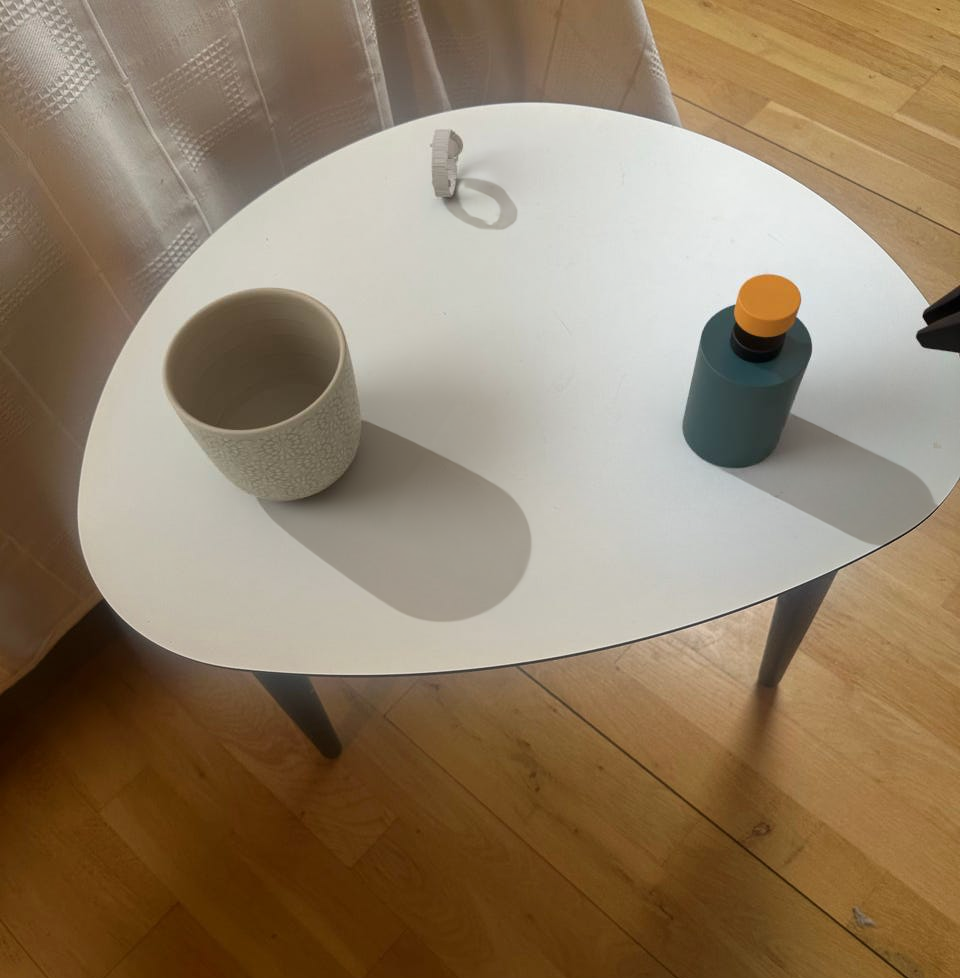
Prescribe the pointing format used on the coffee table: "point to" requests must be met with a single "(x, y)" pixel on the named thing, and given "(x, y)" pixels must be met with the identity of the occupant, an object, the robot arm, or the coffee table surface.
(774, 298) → the orange short cylinder
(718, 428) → the bottle
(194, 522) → the coffee table surface
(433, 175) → the wristwatch
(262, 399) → the planter
